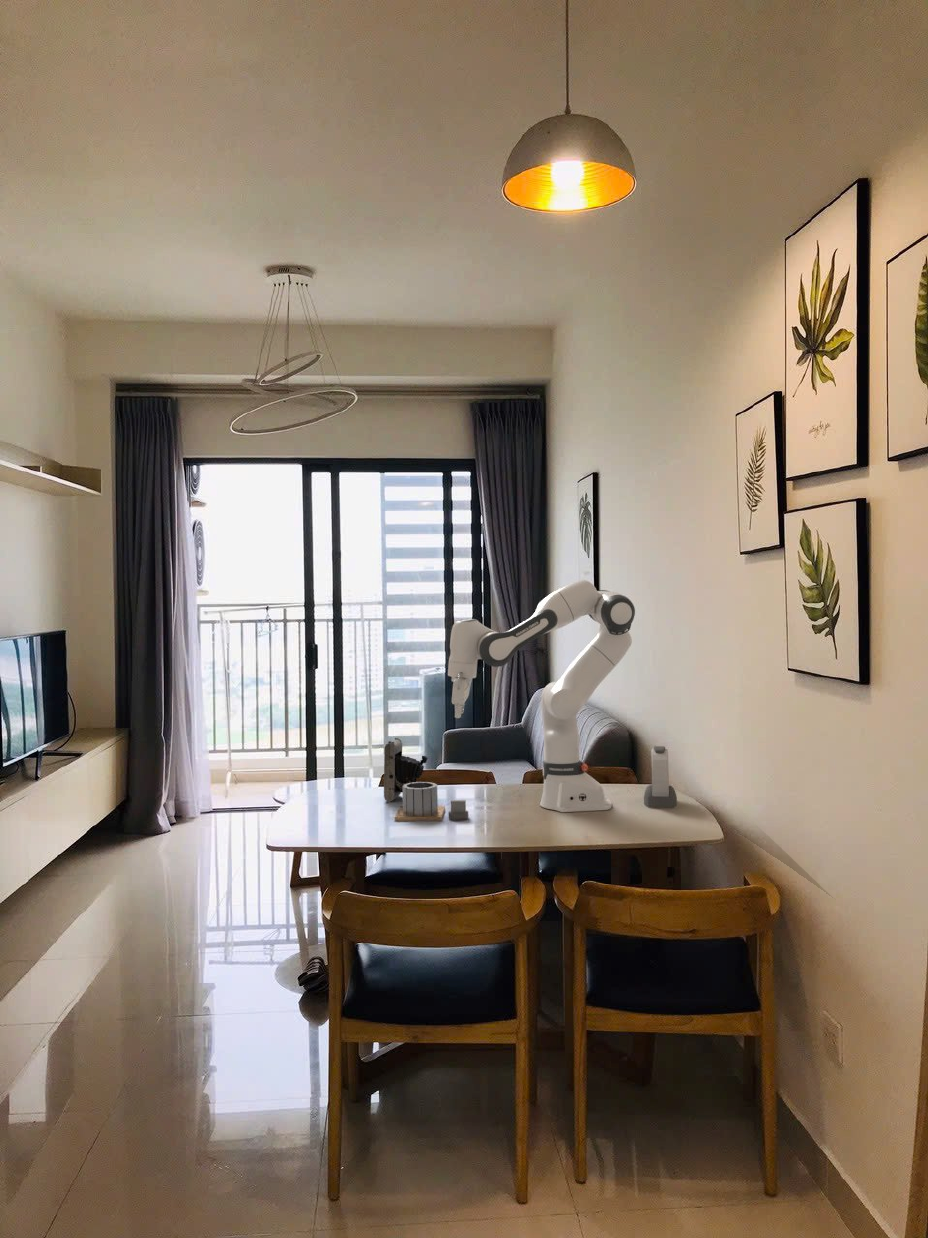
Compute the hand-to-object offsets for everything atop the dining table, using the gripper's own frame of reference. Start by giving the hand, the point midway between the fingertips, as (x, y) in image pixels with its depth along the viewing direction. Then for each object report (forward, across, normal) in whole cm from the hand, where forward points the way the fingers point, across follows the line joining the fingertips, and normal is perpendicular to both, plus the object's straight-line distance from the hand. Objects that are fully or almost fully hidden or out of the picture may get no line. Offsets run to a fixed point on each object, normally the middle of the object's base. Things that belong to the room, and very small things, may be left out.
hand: (459, 715), depth 274 cm
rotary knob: (+30, -8, -3) cm, 31 cm away
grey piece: (+25, +11, -65) cm, 70 cm away
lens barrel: (+31, -4, +9) cm, 33 cm away
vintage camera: (+32, +18, +16) cm, 40 cm away
